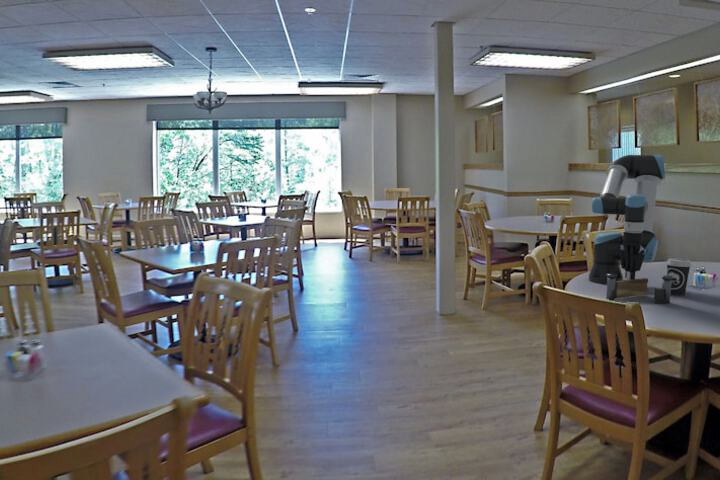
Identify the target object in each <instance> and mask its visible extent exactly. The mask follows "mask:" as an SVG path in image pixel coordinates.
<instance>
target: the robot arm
mask: <svg viewBox="0 0 720 480" xmlns="http://www.w3.org/2000/svg"><path fill="white" fill-rule="evenodd" d="M665 166H666V165H665V156H664V155H662V154H653V153H652V154H627V155H623V156H620V157H619V158H617V159H616V160H615V159H614V161H613V162H612V163H611V164H609V166H608V167H607V170H606V173H605V174H606V175H605V176H606V179H605V182H604V185H603V187H602V189H601V192H600V195H599V196H595V197H593V198H592V201H591V212H592V213H593V214H596V215H597V214H598V215H614V216H615V215H619V216H624V219H623V220H624V222H623V233H622V232H620V231H610V232H609V231H608V232H602V233H601V232H600V233H598V234H597V233H596V235H595V236H594V241H593V262H592V266H591V268H590V271H589V273H588V280H589V281H590V282H593V283H597V284H598V283H599V284H606V285H607V279H608V276H607V274H608V273H613V274H617V277H616V281H621V280H624V278H625V280H630V279H636V272H639V271H641V269H642V266H643V263H652V262H653V261H654V259H655V258H656V255H657V250H658V245H659V238H658V237H656V233H655V231H653V227H654V226H653V225H654V219H655V217H654V216H655V208H656V200H657V199H656V198H657V192H658V191H657V190H658V186H659V185H660V184H661V183H662V180H665V179H666V168H665ZM629 179H631V180H633V181H634V183H635V185H636V191H635V194H628V195H626V197H620V194H621V191H622V188H623V184H624V182H625V181H626V180H629ZM622 270H625V272H624V276H623V271H622Z"/></svg>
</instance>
